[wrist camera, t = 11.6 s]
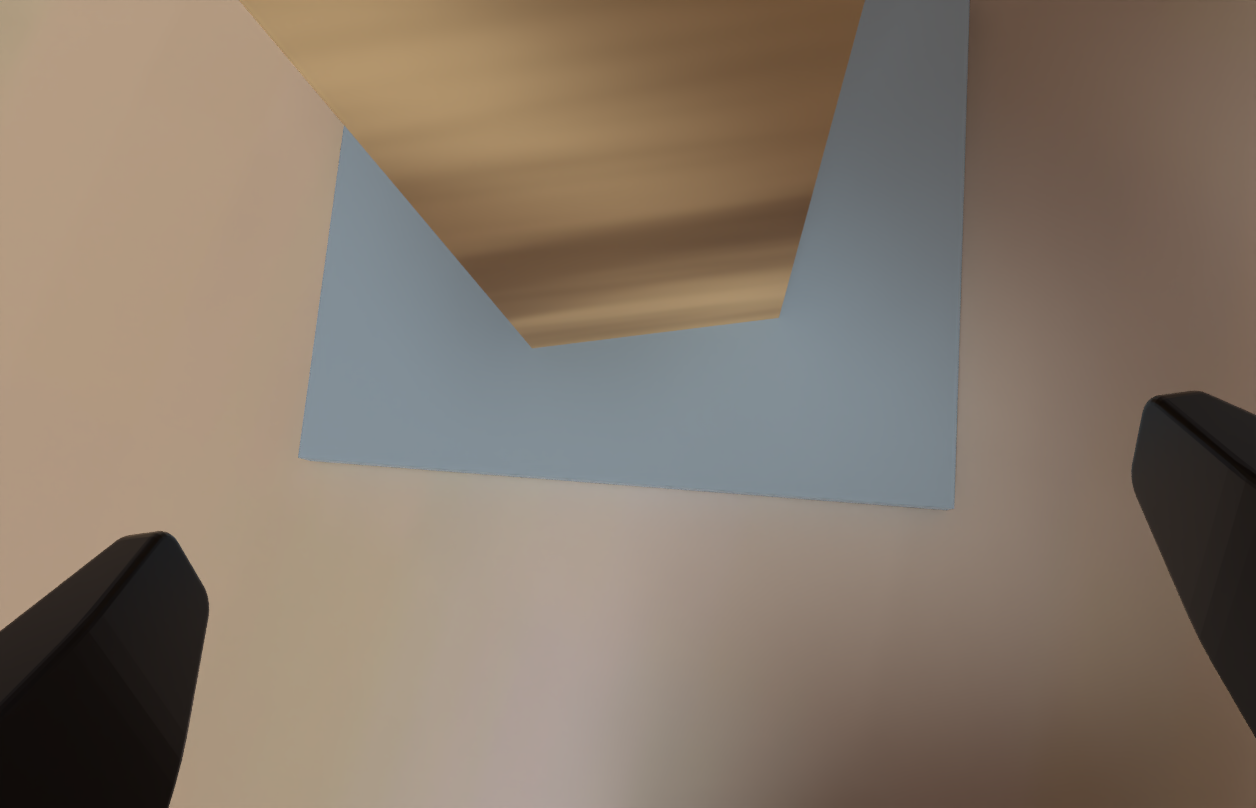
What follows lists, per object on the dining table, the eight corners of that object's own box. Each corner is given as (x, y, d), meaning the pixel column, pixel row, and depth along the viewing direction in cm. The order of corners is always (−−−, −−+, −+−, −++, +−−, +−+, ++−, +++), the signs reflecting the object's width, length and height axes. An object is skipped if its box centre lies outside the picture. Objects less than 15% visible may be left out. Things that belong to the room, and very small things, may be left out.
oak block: (779, 317, 19) (912, -175, 6) (531, 348, 19) (186, -62, 7) (747, 86, 20) (809, -759, 7) (510, 119, 20) (171, -633, 8)
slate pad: (946, 510, 19) (954, 508, 18) (310, 460, 20) (298, 458, 20) (963, -5, 21) (970, -22, 20) (375, -21, 22) (366, -37, 21)
